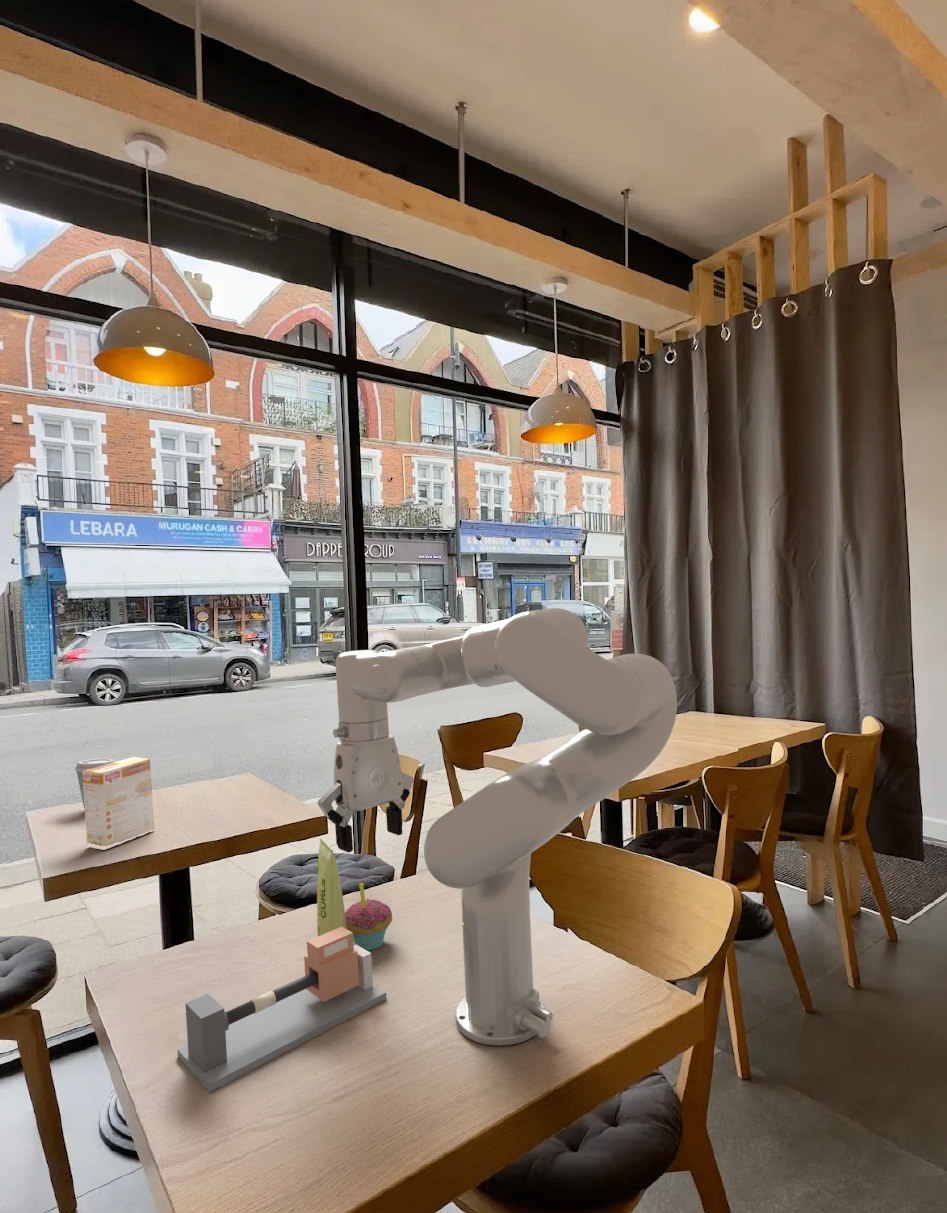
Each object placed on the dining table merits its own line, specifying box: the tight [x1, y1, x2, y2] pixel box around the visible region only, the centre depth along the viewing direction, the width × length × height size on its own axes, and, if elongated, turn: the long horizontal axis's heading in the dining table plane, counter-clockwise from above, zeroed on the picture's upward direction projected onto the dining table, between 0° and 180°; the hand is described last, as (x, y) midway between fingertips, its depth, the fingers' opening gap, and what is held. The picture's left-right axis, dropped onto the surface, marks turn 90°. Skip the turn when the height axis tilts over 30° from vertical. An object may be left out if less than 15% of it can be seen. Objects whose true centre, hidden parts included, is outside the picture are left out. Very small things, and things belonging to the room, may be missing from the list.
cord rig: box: [176, 944, 387, 1093], centre depth 102 cm, size 27×10×8 cm, turn 133°
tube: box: [316, 837, 346, 937], centre depth 120 cm, size 6×5×20 cm
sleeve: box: [303, 927, 359, 1002], centre depth 107 cm, size 6×5×8 cm
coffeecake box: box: [82, 756, 155, 846], centre depth 185 cm, size 15×7×20 cm, turn 154°
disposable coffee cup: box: [74, 758, 116, 809], centre depth 211 cm, size 11×11×15 cm
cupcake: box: [345, 879, 393, 951], centre depth 125 cm, size 9×8×12 cm
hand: (370, 841), depth 112 cm, fingers open, 8 cm apart
